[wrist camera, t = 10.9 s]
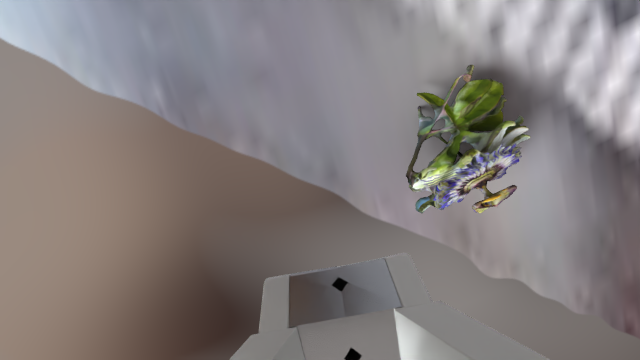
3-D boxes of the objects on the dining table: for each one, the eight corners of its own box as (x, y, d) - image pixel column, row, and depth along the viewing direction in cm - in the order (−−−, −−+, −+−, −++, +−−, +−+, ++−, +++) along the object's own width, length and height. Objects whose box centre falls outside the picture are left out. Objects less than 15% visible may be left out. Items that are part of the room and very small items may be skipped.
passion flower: (439, 150, 46) (431, 242, 40) (380, 87, 41) (359, 180, 34) (544, 111, 39) (556, 216, 32) (488, 27, 34) (488, 132, 27)
